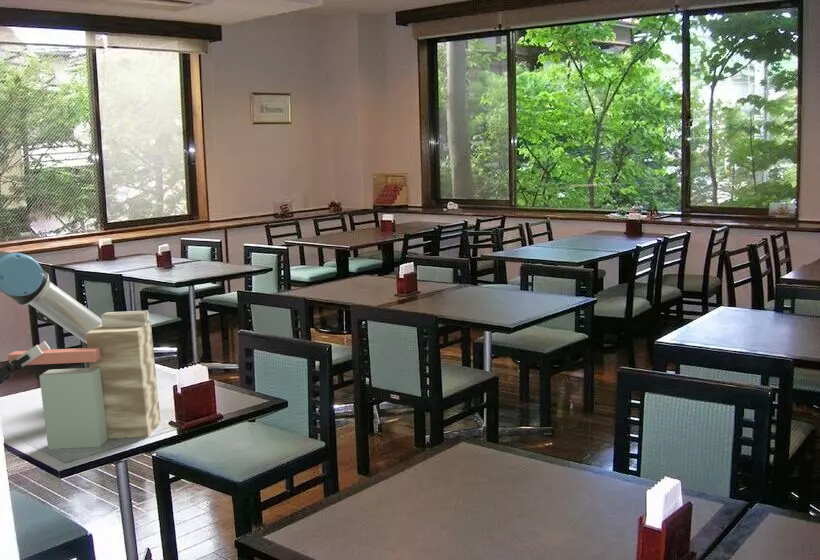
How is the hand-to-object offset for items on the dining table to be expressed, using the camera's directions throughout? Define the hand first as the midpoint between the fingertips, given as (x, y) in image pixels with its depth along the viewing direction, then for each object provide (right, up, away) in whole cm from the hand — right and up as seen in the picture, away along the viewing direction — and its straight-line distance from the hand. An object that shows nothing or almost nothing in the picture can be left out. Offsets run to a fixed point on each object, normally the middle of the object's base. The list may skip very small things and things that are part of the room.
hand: (43, 347), depth 226 cm
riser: (+8, -27, +4) cm, 28 cm away
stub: (+3, -4, +1) cm, 5 cm away
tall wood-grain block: (+19, -25, +14) cm, 34 cm away
